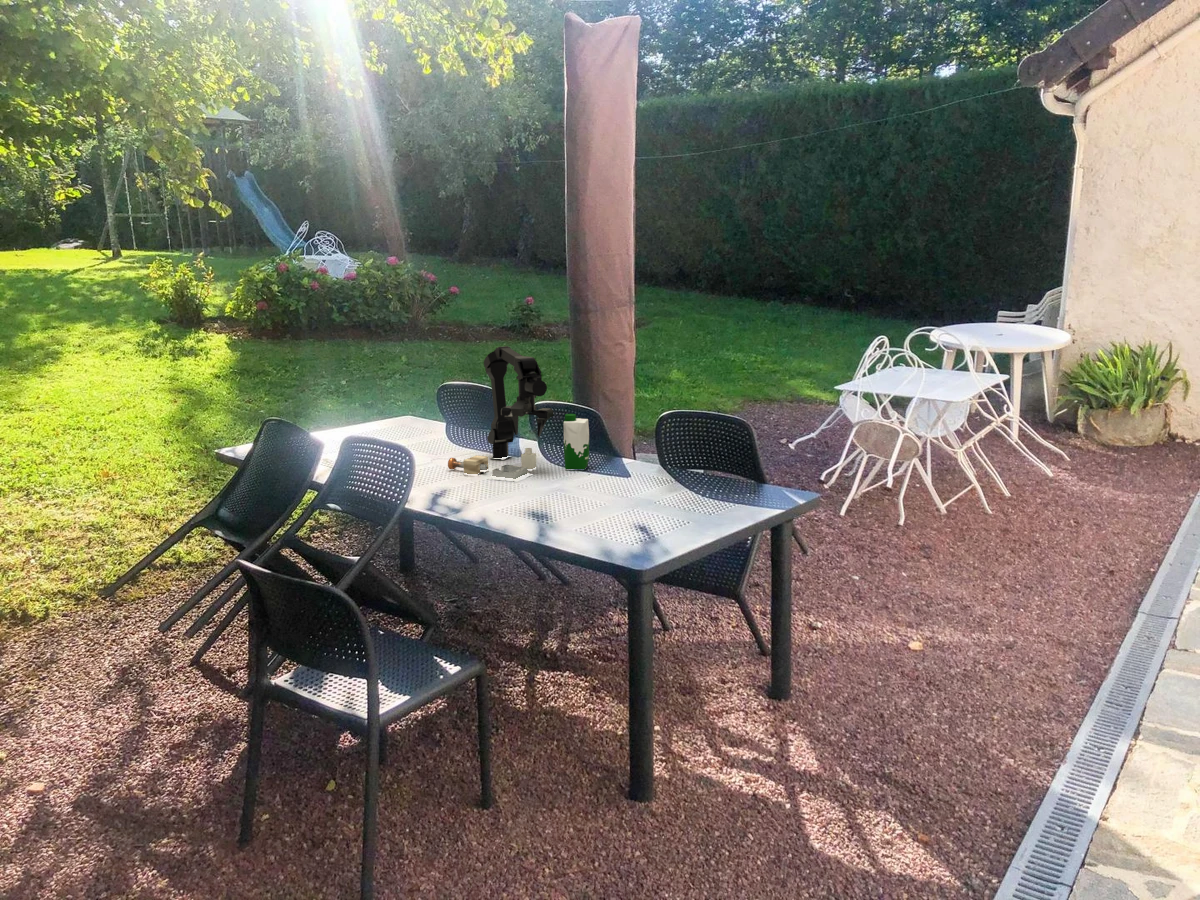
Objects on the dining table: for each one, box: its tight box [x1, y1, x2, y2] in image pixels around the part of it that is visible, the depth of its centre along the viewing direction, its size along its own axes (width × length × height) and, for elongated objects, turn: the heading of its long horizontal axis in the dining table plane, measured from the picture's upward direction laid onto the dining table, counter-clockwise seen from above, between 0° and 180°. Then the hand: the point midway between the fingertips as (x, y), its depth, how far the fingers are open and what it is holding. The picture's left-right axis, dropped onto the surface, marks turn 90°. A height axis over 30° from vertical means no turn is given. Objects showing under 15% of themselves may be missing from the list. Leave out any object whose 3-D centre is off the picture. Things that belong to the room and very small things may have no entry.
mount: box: [462, 455, 489, 474], centre depth 342 cm, size 9×5×5 cm, turn 155°
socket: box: [491, 464, 528, 479], centre depth 336 cm, size 12×12×3 cm
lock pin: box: [447, 457, 487, 470], centre depth 343 cm, size 4×15×4 cm, turn 65°
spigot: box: [520, 447, 537, 469], centre depth 346 cm, size 4×4×8 cm
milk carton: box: [563, 413, 590, 470], centre depth 346 cm, size 9×9×20 cm
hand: (527, 435), depth 343 cm, fingers open, 9 cm apart
